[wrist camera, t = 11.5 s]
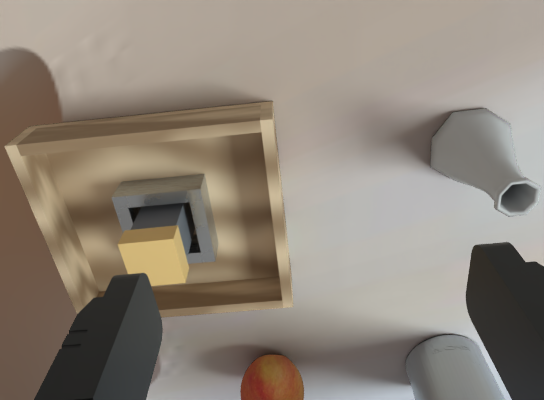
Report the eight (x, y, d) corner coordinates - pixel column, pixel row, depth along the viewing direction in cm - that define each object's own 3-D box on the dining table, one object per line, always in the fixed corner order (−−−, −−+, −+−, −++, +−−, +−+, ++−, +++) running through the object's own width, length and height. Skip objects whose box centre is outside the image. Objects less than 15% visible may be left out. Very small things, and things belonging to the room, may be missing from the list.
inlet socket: (218, 243, 47) (215, 261, 44) (141, 249, 47) (134, 268, 45) (204, 173, 43) (200, 189, 40) (121, 181, 43) (111, 197, 41)
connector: (188, 190, 44) (173, 238, 37) (198, 230, 46) (185, 283, 39) (141, 195, 44) (117, 244, 37) (153, 234, 46) (132, 287, 39)
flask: (416, 171, 44) (452, 231, 35) (446, 99, 40) (494, 145, 31) (487, 185, 44) (540, 246, 36) (522, 115, 41) (590, 163, 32)
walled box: (291, 278, 50) (293, 307, 46) (95, 294, 51) (81, 323, 47) (272, 101, 40) (272, 119, 36) (29, 126, 41) (4, 146, 37)
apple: (303, 341, 55) (308, 399, 48) (299, 381, 59) (303, 441, 52) (242, 339, 55) (238, 397, 48) (242, 380, 59) (238, 440, 52)
